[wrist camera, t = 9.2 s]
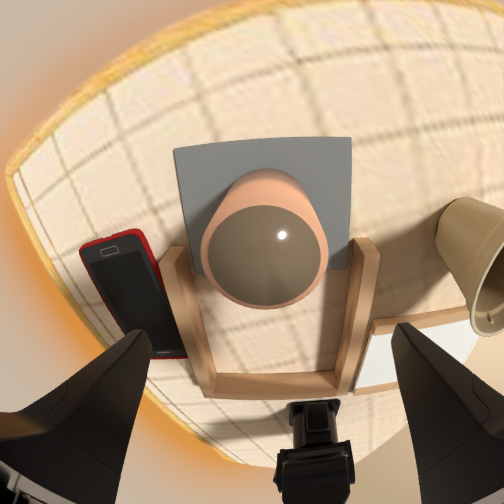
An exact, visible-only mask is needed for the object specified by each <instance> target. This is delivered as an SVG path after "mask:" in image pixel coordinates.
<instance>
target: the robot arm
mask: <svg viewBox="0 0 504 504" xmlns="http://www.w3.org/2000/svg"><path fill="white" fill-rule="evenodd" d="M391 348H392V353H393V359H394V364H395V370H396V376H397V381H398V385H399V389H400V392H401V396H402V400H403V404H404V408H405V412H406V416H407V420H408V424H409V429H410V433H411V438H412V443H413V448H414V453H415V458H416V464H417V470H418V476H419V477H418V478H419V485H420V493H421V502H422V504H504V396H503V395H502V394H500V393H498V392H497V391H496V390H494V389H493V388H491V387H490V386H489V385H488V384H486V383H485V382H484V381H482V380H481V379H480V378H479V377H477V376H476V375H475V374H473V373H472V372H471V371H470V370H469V369H468V368H466V367H465V366H464V365H463V364H461V363H460V362H459V361H458V360H456V359H455V358H454V357H453V356H451V355H450V354H449V353H448V352H446V351H445V350H444V349H442V348H441V347H440V346H439V345H437V344H436V343H435V342H433V341H432V340H431V339H430V338H428V337H427V336H426V335H424V334H423V333H422V332H420V331H419V330H418V329H416V328H415V327H414V326H412V325H411V324H410V323H408V322H401V323H397V324H396V326H395V329H394V332H393V335H392V338H391ZM151 353H152V346H151V343H150V341H149V339H148V336H147V334H146V332H145V331H144V330H138V329H135V330H133V331H131V332H130V333H128V334H127V335H126V336H124V337H123V338H122V339H120V340H119V341H118V342H116V343H115V344H114V345H112V346H111V347H110V348H108V349H107V350H106V351H104V352H103V353H102V354H101V355H99V356H98V357H97V358H95V359H94V360H93V361H91V362H90V363H89V364H87V365H86V366H85V367H84V368H82V369H81V370H79V371H78V372H77V373H75V374H74V375H73V376H71V377H70V378H69V380H66V381H65V382H63V383H62V384H61V385H59V386H58V387H57V388H55V389H54V390H52V391H51V392H49V393H48V394H46V395H45V396H44V397H42V398H40V399H39V400H37V401H35V402H34V403H32V404H31V405H29V406H27V407H26V408H24V409H22V410H20V411H17V412H11V413H6V412H0V504H115V501H116V496H117V491H118V486H119V481H120V477H121V472H122V468H123V464H124V460H125V455H126V451H127V447H128V444H129V439H130V436H131V432H132V429H133V425H134V421H135V418H136V414H137V411H138V407H139V404H140V400H141V397H142V394H143V391H144V387H145V383H146V378H147V373H148V368H149V363H150V358H151ZM340 404H341V403H340V400H328V401H316V402H301V403H292V404H290V418H289V425H290V426H293V449H280V453H278V454H277V466H276V470H275V474H274V478H273V482H274V483H275V484H276V485H277V487H278V491H279V493H282V501H283V503H284V504H345V503H346V502H347V500H348V497H349V494H350V484H354V483H355V471H354V462H353V456H352V450H351V444H350V440H346V441H344V442H338V435H337V426H336V415H337V412H338V409H339V407H340ZM343 455H344V456H343Z"/></svg>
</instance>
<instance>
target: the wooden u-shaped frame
mask: <svg viewBox="0 0 504 504" xmlns="http://www.w3.org/2000/svg"><path fill="white" fill-rule="evenodd" d="M380 257H381V254H380V253H379V252H378V250H377V249H376V247H375V246H374V244H373V243H372V242H371V240H370V239H369V238H354V246H353V256H352V266H351V274H350V282H349V290H348V297H347V304H346V311H345V317H344V323H343V329H342V334H341V340H340V345H339V350H338V355H337V360H336V365H335V369H334V370H331V371H319V372H304V373H281V374H230V373H217V372H216V368H215V365H214V361H213V358H212V354H211V351H210V347H209V344H208V340H207V336H206V333H205V329H204V325H203V321H202V317H201V313H200V309H199V305H198V301H197V297H196V293H195V289H194V285H193V280H192V276H191V272H190V267H189V262H188V258H187V253H186V248H185V246H171V247H170V248H169V250H168V251H167V253H166V254H165V255H164V257H163V258H162V260H161V261H160V262H159V268H160V271H161V275H162V278H163V282H164V285H165V289H166V292H167V295H168V299H169V302H170V305H171V308H172V311H173V315H174V318H175V321H176V324H177V327H178V330H179V333H180V335H181V338H182V341H183V344H184V347H185V350H186V352H187V355H188V358H189V360H190V363H191V366H192V368H193V371H194V373H195V376H196V378H197V381H198V383H199V386H200V388H201V391H202V393H203V396H204V398H215V399H234V400H290V399H309V398H322V397H332V396H342V395H347V393H348V390H349V387H350V384H351V381H352V378H353V374H354V371H355V368H356V365H357V361H358V358H359V354H360V351H361V347H362V343H363V339H364V336H365V332H366V328H367V324H368V319H369V315H370V310H371V306H372V301H373V296H374V291H375V286H376V281H377V275H378V269H379V263H380Z"/></svg>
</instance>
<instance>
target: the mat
mask: <svg viewBox="0 0 504 504" xmlns="http://www.w3.org/2000/svg"><path fill="white" fill-rule="evenodd" d="M174 153H175V160H176V167H177V174H178V180H179V187H180V193H181V199H182V205H183V210H184V216H185V222H186V227H187V232H188V238H189V243H190V248H191V253H192V258H193V262H194V267H195V272H196V274H205V271H204V269H203V265H202V262H201V243H202V238H203V235H204V233H205V230H206V228H207V227H208V225H209V223H210V221H211V219H212V218H213V216H214V214H215V213H216V211H217V209H218V207H219V206H220V204H221V202H222V201H223V199H224V197H225V195H226V194H227V192H228V190H229V189H230V187H231V186H232V184H233V183H234V182H235V181H236V180H237V179H238V178H240V177H241V176H242V175H244V174H246V173H248V172H250V171H252V170H256V169H262V168H271V169H277V170H280V171H283V172H286V173H288V174H289V175H291V176H292V177H294V178H295V179H296V180H297V181H298V182H299V183H300V184H301V185H302V187H303V188H304V190H305V192H306V194H307V196H308V198H309V200H310V202H311V204H312V207H313V209H314V211H315V213H316V215H317V218H318V220H319V222H320V224H321V227H322V229H323V231H324V234H325V237H326V240H327V244H328V264H327V267H326V269H342V268H346V264H347V253H348V241H349V227H350V208H351V174H352V149H351V137H285V138H265V139H250V140H238V141H228V142H219V143H210V144H202V145H195V146H188V147H181V148H175V149H174Z"/></svg>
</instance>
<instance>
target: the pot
mask: <svg viewBox="0 0 504 504" xmlns="http://www.w3.org/2000/svg"><path fill="white" fill-rule="evenodd" d="M201 262H202V265H203V269H204V271H205V274H206V276H207V277H208V279H209V281H210V282H211V284H212V285H213V286H214V287H215V288H216V289H217V290H218V291H219V292H220V293H221V294H222V295H223V296H225V297H226V298H228V299H229V300H231V301H233V302H235V303H237V304H239V305H242V306H245V307H249V308H254V309H277V308H282V307H286V306H289V305H291V304H294V303H296V302H298V301H300V300H301V299H303V298H304V297H306V296H307V295H308V294H310V293H311V292H312V291H313V290H314V289H315V288H316V286H317V285H318V284H319V282H320V281H321V279H322V277H323V275H324V273H325V271H326V267H327V264H328V244H327V240H326V237H325V234H324V231H323V229H322V227H321V224H320V222H319V220H318V218H317V215H316V213H315V211H314V209H313V207H312V204H311V202H310V200H309V198H308V196H307V194H306V192H305V190H304V188H303V187H302V185H301V184H300V183H299V182H298V181H297V180H296V179H295V178H294V177H292V176H291V175H289V174H288V173H286V172H283V171H280V170H277V169H271V168H262V169H256V170H252V171H250V172H248V173H246V174H244V175H242V176H241V177H240V178H238V179H237V180H236V181H235V182H234V183H233V184H232V186H231V187H230V189H229V190H228V192H227V194H226V195H225V197H224V199H223V201H222V202H221V204H220V206H219V207H218V209H217V211H216V213H215V214H214V216H213V218H212V219H211V221H210V223H209V225H208V227H207V228H206V230H205V233H204V235H203V238H202V243H201Z"/></svg>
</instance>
